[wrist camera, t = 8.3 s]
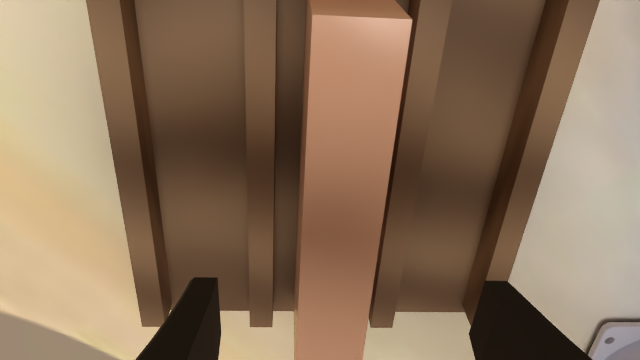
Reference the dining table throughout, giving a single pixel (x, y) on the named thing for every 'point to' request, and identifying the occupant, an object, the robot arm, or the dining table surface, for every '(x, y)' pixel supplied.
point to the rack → (285, 133)
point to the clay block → (344, 167)
